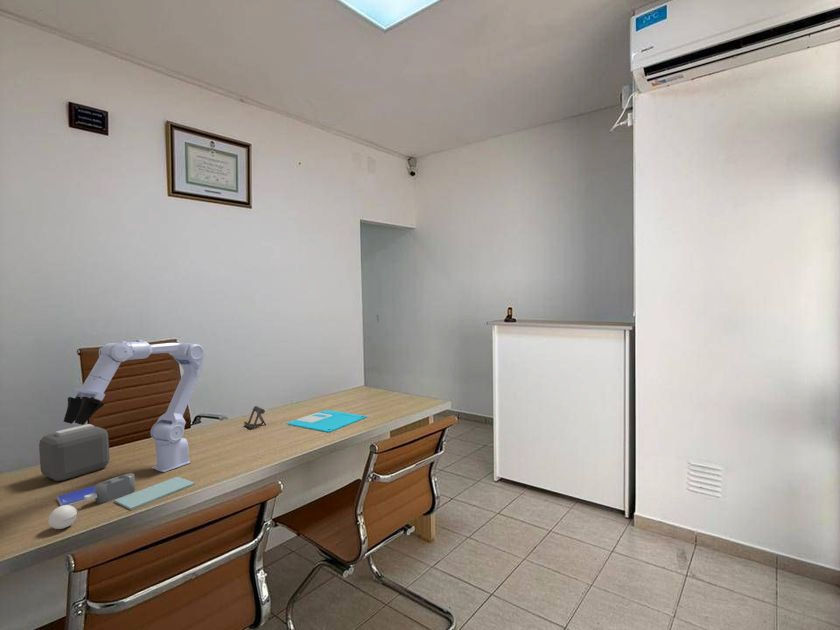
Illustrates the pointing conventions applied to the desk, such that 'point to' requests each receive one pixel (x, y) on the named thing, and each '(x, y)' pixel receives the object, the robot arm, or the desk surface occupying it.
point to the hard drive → (75, 496)
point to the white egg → (62, 517)
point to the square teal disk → (326, 420)
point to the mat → (153, 493)
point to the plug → (112, 489)
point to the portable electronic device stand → (259, 412)
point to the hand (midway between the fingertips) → (73, 423)
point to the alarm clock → (73, 452)
